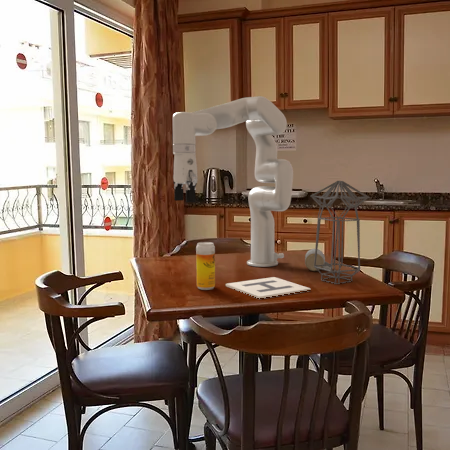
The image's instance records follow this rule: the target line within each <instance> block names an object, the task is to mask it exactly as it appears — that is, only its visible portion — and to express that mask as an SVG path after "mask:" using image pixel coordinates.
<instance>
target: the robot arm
mask: <svg viewBox="0 0 450 450" xmlns="http://www.w3.org/2000/svg"><path fill="white" fill-rule="evenodd" d="M244 122H245V127H246V130H247V132H248V134H249V135H250V136H251V137H252V139H253V141H254V144H255V148H256V149H255V150H256V151H255V159H254V160H255V163H254V179H255V180H256V181H257V182H259V183H263V184H274V185H275V186H267V185H265V186H263V185H260V186H259V185H258V186H254V187H253V188H251V190H250V191H249V193H248V194H247V195H248V196H247V199H248V206H249V211H250V212H249V213H250V259H248V260H247V261H246V264H247V265H248V266H250V267H251V266H252V267H256V268H257V267H259V268H261V267H263V268H265V267H266V268H267V267H275V266H278V264H279V261H278V259H283V258H285V254H284V253H283V252H282V253H277V252H275V218H274V215H273V213H272V211H273V212H284V211H286V210H288V208H289V207H290V205H291V201H292V191H293V181H294V169H293V165H292V164H291V163H292V162H290V160H287V159H284V158H278V144H277V142H276V140H275V139H274V137H273V136H279V135H282V134H283V133H284V132H285V131H286V129H287V126H288V123H287V118H286V116H285V114H284V113H283V112H282V110H280V109H279V108H278V107H277V106H276V105H275V103H273V102H272V101H271V100H269V99H268V98H267V97H266V96H261V95H260V96H259V95H258V96H249V97H242V98H239V99H235V100H232V101H228V102H226V103H221V104H218V105H214V106H211V107H208V108H203V109H199V110H196V111H192V112H190V111H189V112H188V111H180V112H179V111H178V112H175V113H173V115H172V154H173V155H174V157H173V175H172V179H173V189H174V195H173V196H174V201H184V199H185V202H186V203H196V190H197V184H198V165H197V164H198V163H197V157H196V154H197V153H196V151H197V150H196V137H201V136H202V137H204V136H209V135H211V134H213V133H214V132H216V130H220V129H226V128H227V129H228V128H231V127H234V126H236V125H239V124H242V123H244ZM184 185H185V187H186V190H185V194H184V188H183V187H184ZM184 195H185V196H184ZM184 197H185V198H184Z"/></svg>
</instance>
